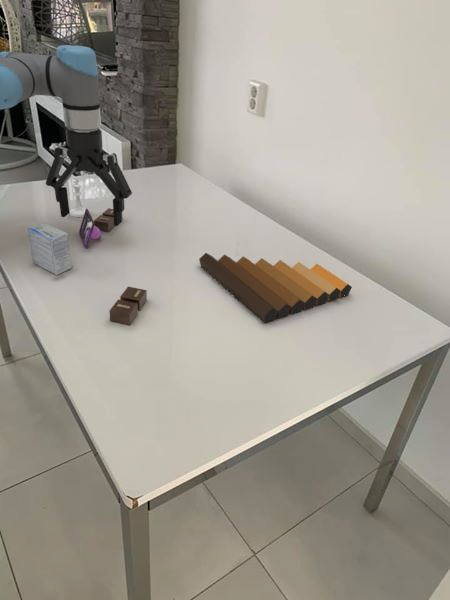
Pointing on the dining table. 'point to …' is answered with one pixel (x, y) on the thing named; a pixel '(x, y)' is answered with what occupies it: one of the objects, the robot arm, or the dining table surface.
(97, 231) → the game card
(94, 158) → the robot arm
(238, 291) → the pan flute
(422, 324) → the dining table surface
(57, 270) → the medicine box
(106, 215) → the brown block
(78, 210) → the chess piece
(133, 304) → the brown segmented bar
